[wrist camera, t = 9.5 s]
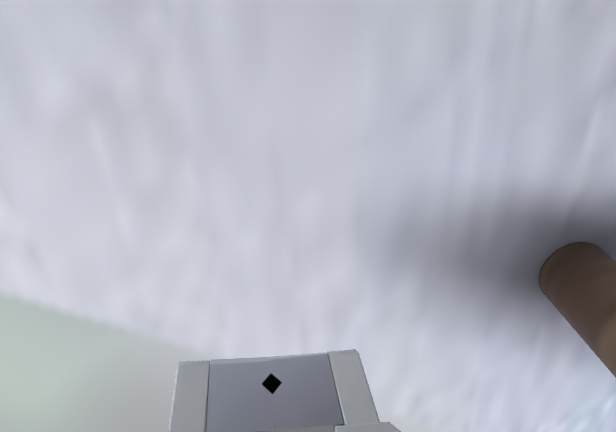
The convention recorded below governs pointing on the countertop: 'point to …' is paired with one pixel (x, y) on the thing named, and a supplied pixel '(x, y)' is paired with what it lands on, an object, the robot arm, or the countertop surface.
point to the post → (585, 295)
